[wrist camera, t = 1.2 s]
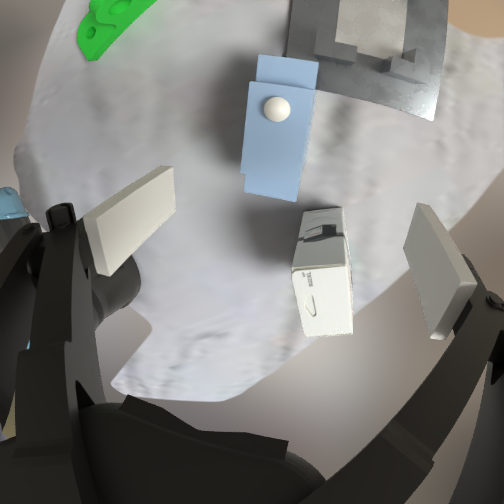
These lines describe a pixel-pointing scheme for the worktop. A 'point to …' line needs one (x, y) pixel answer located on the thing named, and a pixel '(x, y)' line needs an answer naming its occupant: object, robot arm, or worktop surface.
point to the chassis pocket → (374, 49)
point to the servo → (278, 126)
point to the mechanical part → (107, 24)
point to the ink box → (323, 274)
